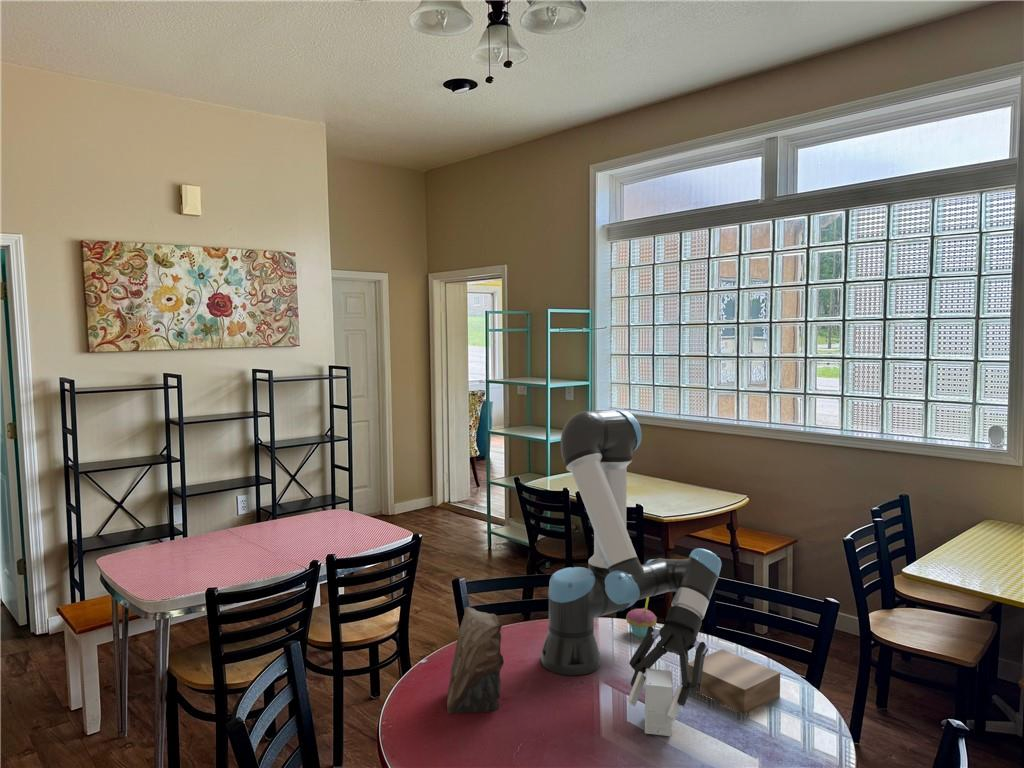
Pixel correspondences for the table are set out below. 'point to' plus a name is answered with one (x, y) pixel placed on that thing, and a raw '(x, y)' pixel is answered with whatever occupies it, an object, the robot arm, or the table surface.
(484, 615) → the owl
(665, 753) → the table surface
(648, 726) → the small box
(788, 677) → the table surface
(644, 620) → the cupcake
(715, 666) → the walnut block
